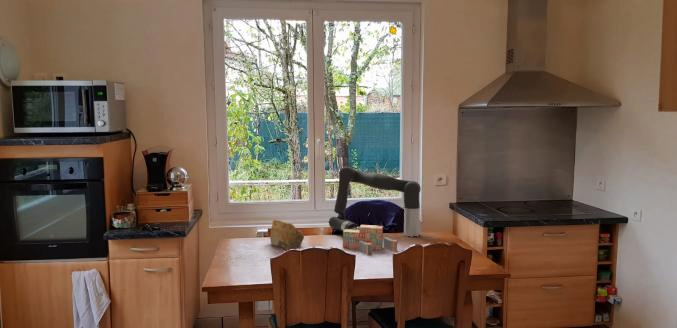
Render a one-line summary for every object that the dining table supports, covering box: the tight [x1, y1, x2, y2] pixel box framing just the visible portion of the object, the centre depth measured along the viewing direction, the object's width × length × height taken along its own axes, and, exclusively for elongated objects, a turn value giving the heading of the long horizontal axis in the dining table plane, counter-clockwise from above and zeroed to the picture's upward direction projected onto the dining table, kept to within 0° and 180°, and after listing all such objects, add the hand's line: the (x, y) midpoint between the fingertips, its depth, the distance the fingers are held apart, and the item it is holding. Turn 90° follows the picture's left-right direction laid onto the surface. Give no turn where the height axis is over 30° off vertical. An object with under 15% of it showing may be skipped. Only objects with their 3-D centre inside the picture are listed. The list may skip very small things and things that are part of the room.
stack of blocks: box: [342, 224, 384, 251], centre depth 250 cm, size 21×6×12 cm, turn 78°
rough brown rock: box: [269, 219, 305, 251], centre depth 252 cm, size 23×17×15 cm
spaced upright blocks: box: [358, 237, 398, 256], centre depth 245 cm, size 18×10×6 cm, turn 117°
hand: (364, 234), depth 257 cm, fingers closed
